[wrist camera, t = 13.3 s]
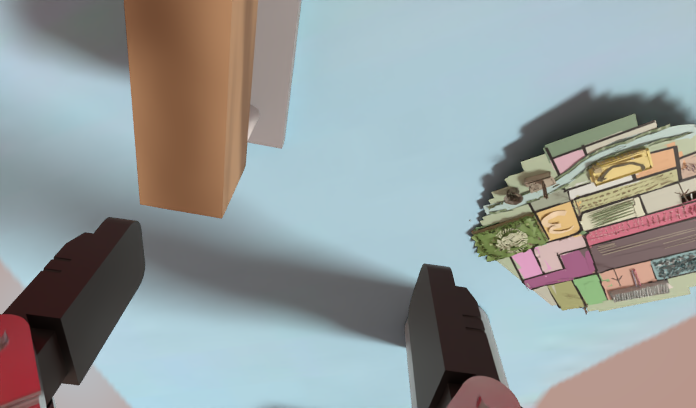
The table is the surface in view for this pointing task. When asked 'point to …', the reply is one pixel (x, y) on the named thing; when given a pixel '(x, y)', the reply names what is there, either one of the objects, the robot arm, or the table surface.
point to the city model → (600, 217)
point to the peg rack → (272, 70)
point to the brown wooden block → (190, 99)
